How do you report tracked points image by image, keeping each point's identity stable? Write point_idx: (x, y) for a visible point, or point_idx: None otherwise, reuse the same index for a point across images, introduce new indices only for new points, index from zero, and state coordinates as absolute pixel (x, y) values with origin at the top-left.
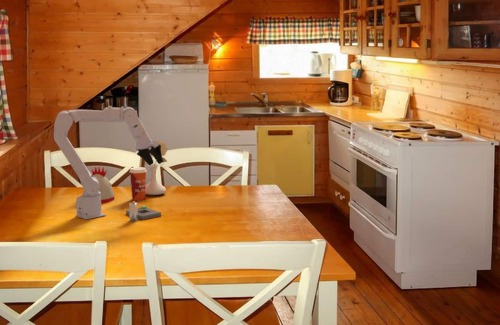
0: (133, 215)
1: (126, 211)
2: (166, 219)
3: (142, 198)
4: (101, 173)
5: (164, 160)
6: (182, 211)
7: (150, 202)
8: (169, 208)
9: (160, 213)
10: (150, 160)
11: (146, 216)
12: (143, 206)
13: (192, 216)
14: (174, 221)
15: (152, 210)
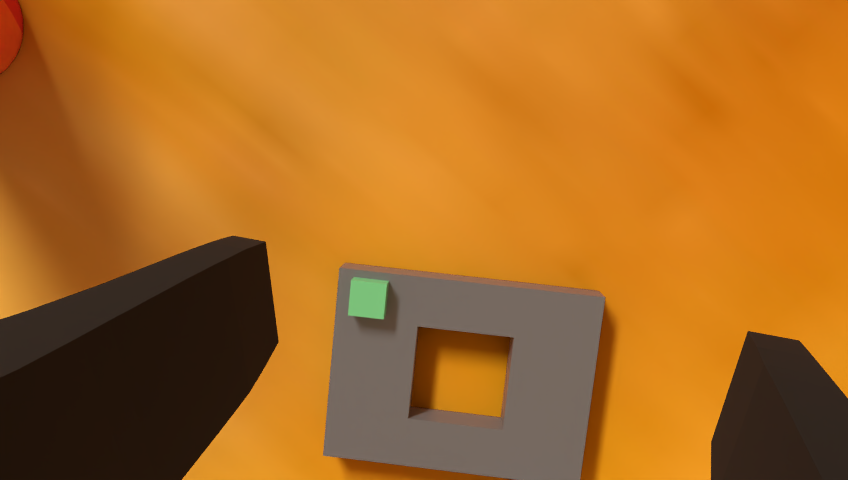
0: None
1: (331, 453)
2: (716, 332)
3: (12, 21)
4: None
5: None
6: (622, 49)
7: (143, 29)
8: (448, 58)
9: (603, 301)
10: (211, 335)
11: (582, 442)
12: (368, 308)
13: (825, 110)
14: (818, 331)
15: (491, 301)
